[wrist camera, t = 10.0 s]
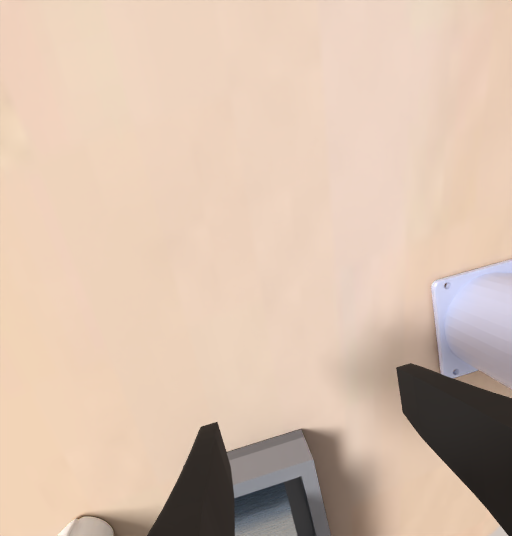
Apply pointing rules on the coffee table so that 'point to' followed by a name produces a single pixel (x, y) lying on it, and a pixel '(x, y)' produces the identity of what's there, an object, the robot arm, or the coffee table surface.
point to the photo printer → (87, 527)
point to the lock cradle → (283, 478)
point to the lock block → (264, 513)
